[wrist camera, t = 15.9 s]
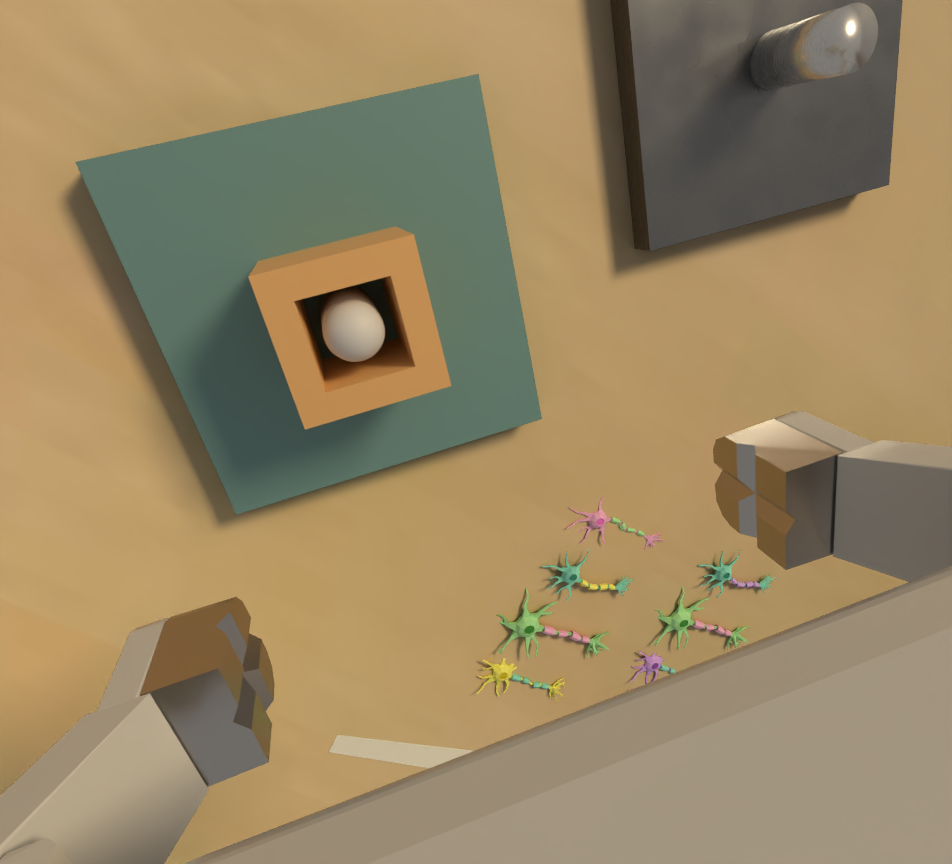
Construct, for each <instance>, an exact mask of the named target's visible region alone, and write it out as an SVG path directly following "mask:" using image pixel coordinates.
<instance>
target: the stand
mask: <svg viewBox="0 0 952 864" xmlns="http://www.w3.org/2000/svg"><path fill="white" fill-rule="evenodd" d="M611 8H612V18H613V28H614V38H615V48H616V59H617V69H618V79H619V89H620V99H621V110H622V120H623V130H624V140H625V150H626V161H627V171H628V181H629V191H630V201H631V212H632V222H633V232H634V242H635V248H636V249H641V250H647V251H652V250H656V249H659V248H663V247H667V246H670V245H674V244H678V243H681V242H685V241H688V240H692V239H696V238H699V237H703V236H706V235H710V234H714V233H717V232H721V231H724V230H728V229H732V228H735V227H739V226H742V225H746V224H750V223H753V222H757V221H760V220H764V219H768V218H771V217H775V216H778V215H782V214H786V213H789V212H793V211H796V210H800V209H804V208H807V207H811V206H815V205H818V204H822V203H825V202H829V201H833V200H836V199H840V198H843V197H847V196H851V195H854V194H858V193H861V192H865V191H869V190H872V189H876V188H879V187H883V186H887V185H889V176H890V162H891V149H892V135H893V121H894V108H895V94H896V81H897V67H898V53H899V40H900V26H901V12H902V0H611Z"/></svg>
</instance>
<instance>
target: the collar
mask: <svg viewBox="0 0 952 864" xmlns="http://www.w3.org/2000/svg"><path fill="white" fill-rule="evenodd" d="M248 278H249V280H250V283H251V286H252V288H253V291H254V294H255V297H256V299H257V302H258V305H259V307H260V310H261V313H262V315H263V318H264V321H265V323H266V326H267V329H268V332H269V334H270V337H271V340H272V342H273V345H274V348H275V350H276V353H277V356H278V358H279V361H280V364H281V367H282V369H283V372H284V375H285V377H286V380H287V383H288V385H289V388H290V391H291V393H292V396H293V399H294V401H295V404H296V407H297V410H298V412H299V415H300V418H301V420H302V423H303V426H304V428H305V429H309V428H312V427H316V426H319V425H322V424H326V423H329V422H332V421H336V420H339V419H342V418H346V417H349V416H352V415H356V414H359V413H363V412H366V411H369V410H373V409H376V408H379V407H383V406H386V405H389V404H393V403H396V402H399V401H403V400H406V399H410V398H413V397H416V396H420V395H423V394H426V393H430V392H433V391H436V390H440V389H443V388H446V387H450V386H451V382H450V378H449V374H448V370H447V366H446V362H445V358H444V354H443V350H442V346H441V342H440V338H439V334H438V330H437V326H436V322H435V317H434V313H433V309H432V305H431V301H430V297H429V293H428V289H427V285H426V281H425V277H424V273H423V269H422V265H421V261H420V257H419V253H418V249H417V245H416V241H415V237H414V234H412V233H410V232H407V231H405V230H403V229H400V228H398V227H396V226H395V227H391V228H387V229H383V230H379V231H375V232H371V233H367V234H363V235H359V236H355V237H351V238H347V239H343V240H339V241H335V242H331V243H327V244H324V245H320V246H316V247H312V248H308V249H304V250H300V251H296V252H292V253H288V254H284V255H280V256H276V257H272V258H268V259H264V260H260V261H258V262H257V264H256V265H255V267H254V268H253V270H252V272H251V273H250V275H249V276H248ZM380 278H381V279H382V283H383V286H384V290H385V293H386V297H387V300H388V304H389V308H390V311H391V315H392V318H393V322H394V326H395V329H396V333H397V336H398V338H397V339H393V340H389V341H386V342H383V344H382V346H381V348H380V349H379V351H378V352H377V353H376V354H375V355H374V356H372V357H371V358H369V359H367V360H364V361H360V362H350V361H346V360H343V359H341V358H339V357H337V356H333V357H329V358H326V359H322V357H321V354H320V351H319V348H318V345H317V342H316V339H315V336H314V334H313V331H312V328H311V325H310V322H309V319H308V316H307V313H306V310H305V307H304V304H303V301H302V299H305V298H308V297H312V296H316V295H320V294H324V293H327V292H331V291H335V290H339V289H342V288H346V287H350V286H354V285H357V284H361V283H365V282H369V281H373V280H376V279H380Z"/></svg>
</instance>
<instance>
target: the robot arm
mask: <svg viewBox="0 0 952 864" xmlns="http://www.w3.org/2000/svg"><path fill="white" fill-rule="evenodd" d="M713 456H714V463H715V464H716V465H717V466H718V467H719V468H720V469H721V470H722V472H721V474H720V476H719V478H718V480H717V481H716V483H715V490H716V500H717V503H718V506H719V508H720V510H721V513H722V515H723V517H724V518H725V519H726V521H727V522H728V523H729V525H730V526H731V527H733V528H734V529H735V530H736V531H737V532H739V533H740V534H744V535H748V536H752V537H756V538H757V547H758V548H759V549H760V550H761V551H762V552H764V553H765V554H766V555H767V556H769V557H770V558H771V559H773V560H774V561H775V562H776V563H778V564H779V565H780V566H781V567H783V568H784V569H785V570H787V569H790V568H793V567H796V566H799V565H802V564H805V563H808V562H811V561H814V560H817V559H820V558H823V557H826V556H829V555H832V554H833V556H834V557H837V558H840V559H843V560H846V561H849V562H852V563H854V564H857V565H860V566H863V567H866V568H869V569H872V570H875V571H878V572H881V573H884V574H887V575H890V576H893V577H896V578H899V579H902V580H905V581H908V582H909V583H906V584H903V585H901V586H898V587H896V588H893V589H890V590H888V591H885V592H883V593H880V594H878V595H875V596H872V597H870V598H867V599H865V600H862V601H859V602H857V603H854V604H852V605H849V606H846V607H844V608H841V609H839V610H836V611H834V612H831V613H828V614H826V615H823V616H821V617H818V618H815V619H813V620H810V621H808V622H805V623H803V624H800V625H797V626H795V627H792V628H790V629H787V630H784V631H782V632H779V633H777V634H774V635H772V636H769V637H766V638H764V639H761V640H759V641H756V642H753V643H751V644H748V645H746V646H743V647H741V648H738V649H735V650H733V651H730V652H728V653H725V654H722V655H720V656H717V657H715V658H712V659H710V660H707V661H704V662H702V663H699V664H697V665H694V666H692V667H689V668H686V669H684V670H681V671H679V672H676V673H674V674H671V675H668V676H666V677H663V678H661V679H658V680H656V681H653V682H650V683H648V684H645V685H643V686H640V687H638V688H635V689H633V690H630V691H627V692H625V693H622V694H620V695H617V696H615V697H612V698H609V699H607V700H604V701H602V702H599V703H597V704H594V705H591V706H589V707H586V708H584V709H581V710H579V711H576V712H574V713H571V714H568V715H566V716H563V717H561V718H558V719H555V720H553V721H550V722H548V723H545V724H543V725H540V726H537V727H535V728H532V729H530V730H527V731H524V732H522V733H519V734H517V735H514V736H512V737H509V738H506V739H504V740H501V741H499V742H496V743H494V744H491V745H488V746H486V747H483V748H481V749H478V750H475V751H473V752H470V753H468V754H465V755H463V756H460V757H457V758H455V759H452V760H450V761H447V762H444V763H442V764H439V765H437V766H434V767H432V768H429V769H426V770H424V771H421V772H419V773H416V774H413V775H411V776H408V777H406V778H403V779H401V780H398V781H395V782H393V783H390V784H388V785H385V786H383V787H380V788H377V789H375V790H372V791H370V792H367V793H364V794H362V795H359V796H357V797H354V798H352V799H349V800H346V801H344V802H341V803H339V804H336V805H333V806H331V807H328V808H326V809H323V810H321V811H318V812H315V813H313V814H310V815H308V816H305V817H303V818H300V819H297V820H295V821H292V822H290V823H287V824H284V825H282V826H279V827H277V828H274V829H272V830H269V831H266V832H264V833H261V834H259V835H256V836H253V837H251V838H248V839H246V840H243V841H241V842H238V843H235V844H233V845H230V846H228V847H225V848H222V849H220V850H217V851H215V852H212V853H210V854H207V855H204V856H202V857H199V858H197V859H194V860H192V861H189V862H186V863H184V864H952V447H951V446H940V445H930V444H919V443H909V442H898V441H888V440H881V441H878V442H875V443H874V442H871V441H869V440H867V439H864V438H862V437H860V436H858V435H855V434H853V433H851V432H849V431H846V430H844V429H842V428H840V427H837V426H835V425H833V424H831V423H828V422H826V421H824V420H821V419H819V418H817V417H815V416H812V415H810V414H808V413H806V412H803V411H792V412H790V413H787V414H784V415H782V416H779V417H776V418H774V419H771V420H768V421H766V422H763V423H761V424H758V425H755V426H752V427H750V428H747V429H744V430H741V431H738V432H736V433H733V434H730V435H727V436H724V437H722V438H719V439H716V441H715V445H714V448H713ZM250 621H251V617H250V615H249V613H248V611H247V609H246V607H245V605H244V603H243V602H242V601H241V600H240V599H238V598H237V597H234V598H231V599H227V600H224V601H221V602H218V603H214V604H211V605H208V606H205V607H202V608H198V609H195V610H192V611H189V612H185V613H182V614H179V615H176V616H172V617H170V618H165V619H162V620H159V621H156V622H153V623H150V624H148V625H145V626H142V627H139V628H137V629H135V630H133V631H132V632H130V634H129V636H128V638H127V640H126V643H125V645H124V648H123V650H122V652H121V655H120V657H119V660H118V662H117V664H116V667H115V669H114V671H113V674H112V676H111V679H110V681H109V683H108V686H107V688H106V691H105V693H104V695H103V698H102V700H101V703H100V705H99V707H98V710H97V711H96V712H93V713H90V714H88V715H85V716H84V717H83V718H82V719H81V720H80V721H79V722H78V723H77V724H76V725H75V726H73V727H72V728H71V729H70V730H69V731H68V732H67V733H66V734H65V735H64V736H63V737H62V738H61V739H60V740H59V741H58V742H57V743H56V744H55V745H53V746H52V747H51V748H50V749H49V750H48V751H47V752H46V753H45V754H44V755H43V756H42V757H41V758H40V759H39V760H38V761H37V762H36V763H35V764H34V765H32V766H31V767H30V768H29V769H28V770H27V771H26V772H25V773H24V774H23V775H22V776H21V777H20V778H19V779H18V780H17V781H16V782H15V783H14V784H12V785H11V786H10V787H9V788H8V789H7V790H6V791H5V792H4V793H3V794H2V795H1V796H0V864H164V863H165V861H166V860H167V858H168V856H169V855H170V853H171V851H172V850H173V848H174V846H175V845H176V843H177V841H178V840H179V838H180V837H181V835H182V833H183V832H184V830H185V828H186V827H187V825H188V823H189V822H190V820H191V818H192V817H193V815H194V813H195V812H196V810H197V808H198V807H199V805H200V804H201V802H202V800H203V799H204V797H205V795H206V794H207V792H208V790H209V789H208V786H211V785H213V784H216V783H218V782H221V781H223V780H226V779H228V778H231V777H233V776H236V775H238V774H240V773H243V772H245V771H248V770H250V769H253V768H255V767H258V766H260V765H263V764H265V763H268V762H269V753H270V740H271V728H272V723H271V721H270V719H269V717H268V715H267V713H266V710H267V708H268V707H269V706H270V704H271V703H272V702H273V700H274V678H273V671H272V665H271V662H270V659H269V656H268V653H267V650H266V648H265V646H264V644H263V642H262V639H260V638H258V637H256V636H253V635H251V634H249V628H250Z"/></svg>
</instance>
